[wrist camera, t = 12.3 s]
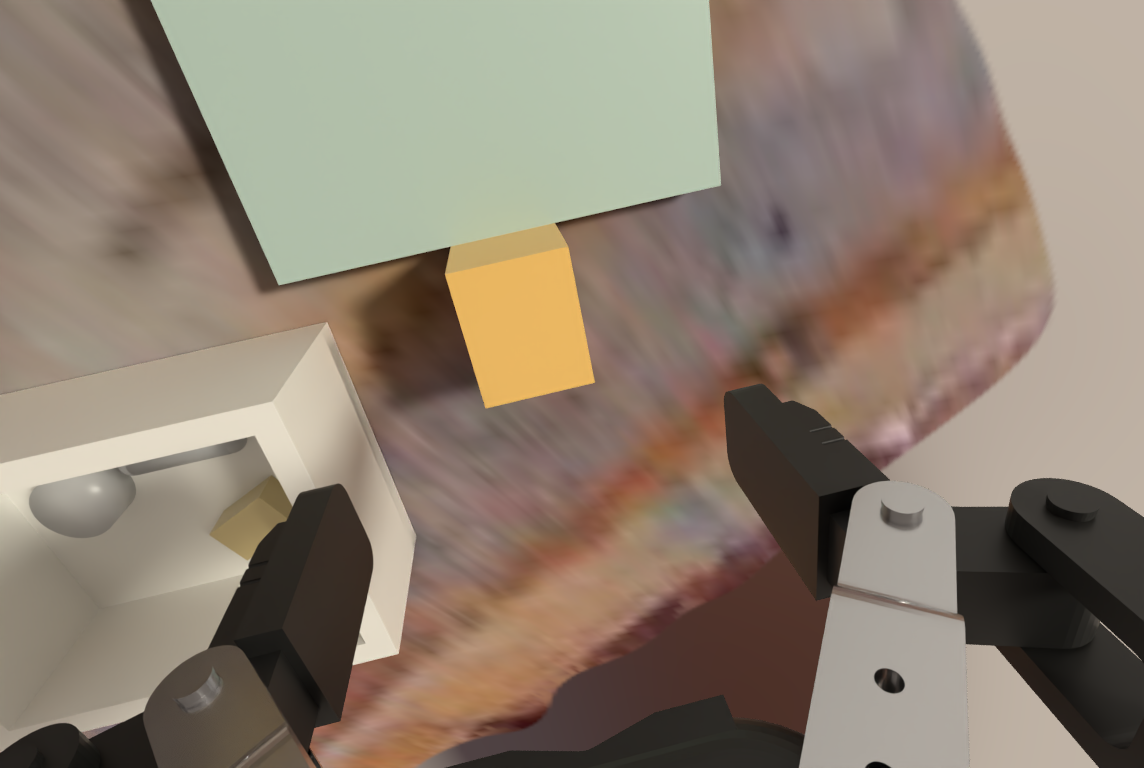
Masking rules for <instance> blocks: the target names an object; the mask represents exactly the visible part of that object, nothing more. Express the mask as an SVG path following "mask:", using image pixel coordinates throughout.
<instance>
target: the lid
mask: <svg viewBox="0 0 1144 768" xmlns="http://www.w3.org/2000/svg"><path fill="white" fill-rule="evenodd" d="M151 2H152V4H153V6H154V9H155V11H156V13H157V15H158V18H159V20H160V22H161V24H162V26H163V29H164V31H165V33H166V35H167V38H168V40H169V42H170V44H171V46H172V49H173V51H174V53H175V55H176V58H177V60H178V62H179V64H180V66H181V69H182V71H183V73H184V75H185V78H186V80H187V82H188V84H189V87H190V89H191V91H192V93H193V95H194V98H195V100H196V102H197V104H198V107H199V109H200V111H201V113H202V115H203V118H204V120H205V122H206V124H207V127H208V129H209V131H210V133H211V135H212V138H213V140H214V142H215V144H216V147H217V149H218V151H219V153H220V156H221V158H222V160H223V162H224V164H225V167H226V169H227V171H228V173H229V176H230V178H231V180H232V182H233V184H234V187H235V189H236V191H237V193H238V196H239V198H240V200H241V202H242V204H243V207H244V209H245V211H246V213H247V216H248V218H249V220H250V222H251V225H252V227H253V229H254V231H255V233H256V236H257V238H258V240H259V242H260V245H261V247H262V249H263V251H264V253H265V256H266V258H267V260H268V262H269V265H270V267H271V269H272V271H273V273H274V276H275V278H276V280H277V282H278V285H283V284H287V283H291V282H296V281H300V280H305V279H309V278H313V277H318V276H322V275H327V274H331V273H336V272H340V271H344V270H349V269H353V268H358V267H362V266H367V265H371V264H375V263H380V262H384V261H389V260H393V259H398V258H402V257H406V256H411V255H415V254H420V253H424V252H428V251H433V250H437V249H442V248H446V247H451V248H450V253H449V258H448V262H447V267H446V272H445V276H446V280H447V283H448V286H449V289H450V293H451V296H452V299H453V303H454V306H455V309H456V312H457V316H458V319H459V322H460V326H461V329H462V332H463V335H464V339H465V342H466V345H467V349H468V352H469V355H470V358H471V362H472V365H473V368H474V372H475V375H476V378H477V381H478V385H479V388H480V391H481V395H482V398H483V401H484V404H485V408H489V407H494V406H498V405H502V404H506V403H511V402H515V401H519V400H523V399H527V398H532V397H536V396H540V395H544V394H549V393H553V392H557V391H561V390H565V389H570V388H574V387H578V386H582V385H587V384H591V383H595V381H594V376H593V371H592V366H591V361H590V356H589V351H588V346H587V341H586V335H585V330H584V325H583V320H582V315H581V310H580V305H579V300H578V294H577V289H576V284H575V279H574V274H573V269H572V264H571V259H570V254H569V248H568V245H567V244H566V242H565V240H564V238H563V237H562V235H561V233H560V231H559V229H558V228H557V226H556V224H555V223H557V222H561V221H566V220H570V219H574V218H579V217H583V216H588V215H592V214H597V213H601V212H605V211H610V210H614V209H619V208H623V207H628V206H632V205H636V204H641V203H645V202H650V201H654V200H659V199H663V198H667V197H672V196H676V195H681V194H685V193H689V192H694V191H698V190H703V189H707V188H712V187H716V186H720V185H721V178H720V163H719V148H718V132H717V117H716V102H715V87H714V71H713V56H712V41H711V26H710V10H709V0H151Z"/></svg>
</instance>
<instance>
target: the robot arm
mask: <svg viewBox="0 0 1144 768" xmlns="http://www.w3.org/2000/svg"><path fill="white" fill-rule="evenodd" d="M724 409H725V424H726V439H727V453H728V459H729V464H730V467H731V470H732V473H733V475H734V477H735V479H736V481H737V483H738V484H739V486H740V487H741V489H742V490H743V492H744V493H745V495H746V496H747V498H748V499H749V501H750V502H751V504H752V505H753V507H754V508H755V510H756V511H757V513H758V514H759V516H760V517H761V519H762V520H763V522H764V523H765V525H766V526H767V528H768V529H769V531H770V532H771V534H772V535H773V537H774V538H775V540H776V541H777V543H778V544H779V546H780V547H781V549H782V550H783V552H784V553H785V555H786V556H787V558H788V559H789V561H790V562H791V564H792V565H793V567H794V568H795V570H796V571H797V573H798V574H799V576H800V577H801V578H802V580H803V582H804V583H805V585H806V586H807V588H808V589H809V591H810V592H811V594H812V595H813V597H814V598H815V600H821V599H825V598H828V597H831V599H830V604H829V610H828V615H827V620H826V626H825V631H824V636H823V642H822V647H821V653H820V658H819V663H818V669H817V674H816V680H815V685H814V690H813V695H812V701H811V706H810V711H809V717H808V722H807V727H806V733H805V735H803V734H802V733H799V732H797V731H794V730H792V729H789V728H787V727H784V726H781V725H778V724H774V723H770V722H766V721H763V720H756V719H749V718H732V715H731V713H730V710H729V708H728V705H727V703H726V701H725V698H724V696H723V695H720V696H716V697H712V698H708V699H705V700H701V701H697V702H693V703H689V704H686V705H682V706H678V707H674V708H670V709H667V710H663V711H659V712H655V713H653V714H651V715H650V716H648V717H646V718H644V719H643V720H641V721H639V722H637V723H636V724H634V725H632V726H630V727H629V728H627V729H625V730H623V731H622V732H620V733H618V734H617V735H615V736H613V737H611V738H609V739H608V740H606V741H604V742H602V743H601V744H599V745H597V746H595V747H594V748H591V749H589V750H586V751H579V752H577V751H573V752H572V751H507V752H503V753H500V754H496V755H492V756H489V757H484V758H481V759H477V760H473V761H469V762H465V763H462V764H458V765H454V766H450V767H447V768H970V760H969V730H968V729H969V728H968V701H967V700H968V699H967V670H966V644H974V645H975V644H976V645H994V646H996V648H997V649H998V650H999V651H1000V652H1001V653H1002V655H1003V656H1004V657H1005V658H1006V659H1007V660H1008V662H1009V663H1010V664H1011V665H1012V666H1013V667H1014V669H1016V671H1017V672H1018V673H1019V674H1020V676H1021V677H1022V678H1023V679H1024V680H1025V681H1026V683H1027V684H1028V685H1029V686H1030V687H1031V689H1032V690H1033V691H1034V692H1035V693H1036V694H1037V695H1038V697H1039V698H1040V699H1041V700H1042V701H1043V703H1044V704H1045V705H1046V706H1047V707H1048V708H1049V709H1050V711H1051V712H1052V713H1053V714H1054V715H1055V717H1056V718H1057V719H1058V720H1059V721H1060V722H1061V724H1062V725H1063V726H1064V727H1065V728H1066V730H1067V731H1068V732H1069V733H1070V734H1071V735H1072V737H1073V738H1074V739H1075V740H1076V741H1077V742H1078V744H1079V745H1080V746H1081V747H1082V748H1083V749H1084V751H1085V752H1086V753H1087V754H1088V755H1089V756H1090V758H1091V759H1092V760H1093V761H1094V762H1095V763H1096V765H1097V766H1098V767H1099V768H1144V517H1142V516H1141V515H1140V514H1138V513H1137V512H1135V511H1134V510H1132V509H1131V508H1129V507H1128V506H1126V505H1125V504H1124V503H1122V502H1121V501H1119V500H1118V499H1116V498H1115V497H1113V496H1111V495H1110V494H1108V493H1106V492H1104V491H1102V490H1100V489H1097V488H1095V487H1092V486H1089V485H1086V484H1082V483H1079V482H1075V481H1070V480H1064V479H1053V478H1041V479H1033V480H1029V481H1025V482H1023V483H1021V484H1019V485H1018V486H1017V487H1015V489H1014V490H1013V491H1012V494H1011V498H1010V502H1009V507H952V506H950V505H949V504H948V503H947V501H946V500H945V499H943V498H942V497H941V496H940V495H938V494H936V493H935V492H933V491H931V490H929V489H927V488H925V487H922V486H919V485H916V484H913V483H908V482H902V481H890V480H889V479H888V478H887V477H886V476H885V475H884V474H883V473H882V472H881V471H880V470H879V469H878V468H877V467H876V466H874V465H873V464H872V463H871V462H870V461H869V460H868V459H867V458H866V457H865V456H864V455H863V454H862V453H861V452H860V451H858V450H857V449H856V448H855V447H854V446H853V445H852V444H851V443H850V442H849V441H848V440H844V436H842V435H841V434H840V433H839V432H838V431H837V430H836V429H835V428H832V427H831V424H830V423H829V422H828V421H826V420H825V419H824V418H823V417H822V416H821V415H820V414H819V413H818V412H817V411H816V410H814V409H811V408H809V407H807V406H804V405H802V404H800V403H798V402H795V401H789V402H784V403H782V402H781V401H780V400H779V399H778V398H777V397H776V396H775V395H774V394H773V393H772V392H771V391H770V390H769V389H768V388H767V387H766V386H765V385H763V384H757V385H753V386H749V387H744V388H740V389H736V390H732V391H728V392H726V393H725V396H724ZM248 567H249V569H246V571H245V573H244V575H243V577H242V579H241V581H240V587H237V589H236V591H235V593H234V595H233V597H232V600H231V602H230V604H229V606H228V608H227V610H226V612H225V614H224V616H223V618H222V620H221V622H220V624H219V626H218V628H217V631H216V633H215V635H214V637H213V639H212V641H211V643H210V645H209V647H208V649H207V650H204V651H202V652H200V653H198V654H196V655H194V656H192V657H191V658H189V659H187V660H186V661H184V662H183V663H181V664H180V665H179V666H177V667H176V668H175V669H174V670H173V671H172V672H170V673H169V674H168V675H167V676H166V677H165V678H164V679H163V680H162V681H161V683H160V684H159V685H158V686H157V687H156V689H155V690H154V692H153V693H152V695H151V696H150V698H149V700H148V702H147V704H146V707H145V710H144V712H142V713H140V714H138V715H136V716H134V717H132V718H130V719H128V720H126V721H124V722H122V723H120V724H118V725H116V726H114V727H112V728H110V729H108V730H106V731H104V732H102V733H100V734H98V735H96V736H94V737H92V738H90V739H88V738H87V737H86V736H85V735H84V734H83V733H82V732H81V731H80V730H79V729H78V728H77V727H76V726H74V725H72V724H69V723H57V724H52V725H49V726H46V727H43V728H40V729H38V730H36V731H34V732H32V733H30V734H28V735H26V736H24V737H23V738H21V739H19V740H18V741H16V742H15V743H13V744H12V745H10V746H9V747H7V748H6V749H5V750H3V751H2V752H1V753H0V768H323V767H322V765H321V764H320V762H319V760H318V759H317V757H316V756H315V754H314V753H313V751H312V750H311V748H310V747H309V746H310V743H311V739H312V735H313V731H314V728H316V727H320V726H323V725H327V724H331V723H335V722H339V721H340V720H341V715H342V711H343V706H344V702H345V697H346V692H347V688H348V683H349V679H350V674H351V669H352V665H353V660H354V655H355V651H356V646H357V642H358V637H359V632H360V628H361V623H362V619H363V614H364V609H365V605H366V600H367V595H368V591H369V586H370V582H371V577H372V572H373V552H372V547H371V543H370V540H369V538H368V536H367V534H366V531H365V529H364V527H363V525H362V523H361V521H360V519H359V517H358V514H357V512H356V510H355V508H354V506H353V504H352V502H351V499H350V497H349V495H348V493H347V491H346V489H345V488H344V487H343V486H342V485H341V484H339V483H338V484H333V485H329V486H325V487H321V488H316V489H312V490H308V491H304V492H301V493H299V495H298V496H297V498H296V500H295V503H294V505H293V507H292V509H291V512H290V514H289V516H288V518H287V521H285V522H281V523H277V524H276V526H275V527H274V528H273V529H272V530H271V531H270V532H269V533H268V534H267V535H266V536H265V537H264V538H263V540H262V541H261V542H260V543H259V544H258V546H257V548H256V550H255V552H254V554H253V556H252V558H251V560H250V562H249V564H248ZM1100 621H1101V622H1102V623H1103V624H1104V625H1105V626H1106V627H1107V628H1108V629H1110V630H1111V631H1112V632H1113V633H1114V634H1115V635H1116V636H1117V637H1118V638H1119V639H1121V640H1122V641H1123V642H1124V643H1125V644H1126V645H1127V646H1128V647H1129V648H1130V649H1131V650H1132V651H1134V653H1136V655H1137V656H1138V657H1139V658H1140V659H1141V660H1142V661H1141V660H1140V659H1139V658H1138V657H1137V656H1136V655H1134V654H1133V653H1132V652H1131V651H1130V650H1129V649H1128V648H1127V647H1126V646H1125V645H1124V644H1123V643H1121V642H1120V641H1119V640H1118V639H1117V638H1116V637H1115V636H1114V635H1113V634H1112V633H1111V632H1109V631H1108V630H1107V629H1106V628H1105V627H1104V626H1103V625H1102V624H1101V623H1100Z"/></svg>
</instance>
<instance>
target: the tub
mask: <svg viewBox="0 0 1144 768" xmlns="http://www.w3.org/2000/svg"><path fill="white" fill-rule="evenodd" d="M338 483H339V484H341V485H342V486H343V487H344V488H345V489H346V491H347V493H348V495H349V497H350V499H351V502H352V504H353V506H354V508H355V510H356V512H357V514H358V517H359V519H360V521H361V523H362V525H363V527H364V529H365V531H366V534H367V536H368V538H369V540H370V543H371V547H372V552H373V572H372V577H371V582H370V586H369V591H368V595H367V600H366V605H365V609H364V614H363V619H362V623H361V628H360V632H359V637H358V642H357V646H356V651H355V655H354V660H353V665H355V664H359V663H363V662H367V661H371V660H375V659H379V658H383V657H388V656H392V655H396V654H399V648H400V641H401V635H402V628H403V621H404V615H405V608H406V601H407V595H408V588H409V581H410V575H411V568H412V561H413V555H414V548H415V541H416V534H415V532H414V530H413V527H412V525H411V522H410V520H409V518H408V515H407V513H406V510H405V508H404V506H403V503H402V501H401V498H400V496H399V494H398V491H397V489H396V486H395V484H394V482H393V479H392V477H391V474H390V472H389V470H388V467H387V465H386V462H385V460H384V457H383V455H382V453H381V450H380V448H379V445H378V443H377V441H376V438H375V436H374V433H373V431H372V429H371V426H370V424H369V421H368V419H367V417H366V414H365V412H364V409H363V407H362V405H361V402H360V400H359V397H358V395H357V393H356V390H355V388H354V385H353V383H352V381H351V378H350V376H349V373H348V371H347V369H346V366H345V364H344V361H343V359H342V357H341V354H340V352H339V349H338V347H337V344H336V342H335V340H334V337H333V335H332V332H331V330H330V328H329V325H328V323H327V322H324V323H320V324H315V325H311V326H306V327H302V328H297V329H293V330H288V331H284V332H279V333H275V334H270V335H266V336H261V337H257V338H253V339H248V340H244V341H239V342H235V343H230V344H226V345H221V346H217V347H212V348H208V349H203V350H199V351H195V352H190V353H186V354H181V355H177V356H172V357H168V358H163V359H159V360H154V361H150V362H145V363H141V364H137V365H132V366H128V367H123V368H119V369H114V370H110V371H105V372H101V373H96V374H92V375H87V376H83V377H78V378H74V379H70V380H65V381H61V382H56V383H52V384H47V385H43V386H38V387H34V388H29V389H25V390H20V391H16V392H12V393H7V394H3V395H0V752H2V751H3V750H5V749H6V748H7V747H9V746H10V745H12V744H13V743H15V742H16V741H18V740H19V739H21V738H23V737H24V736H26V735H28V734H30V733H32V732H34V731H36V730H38V729H40V728H43V727H46V726H49V725H52V724H57V723H69V724H72V725H74V726H76V727H77V728H78V729H79V730H80V731H81V732H84V731H88V730H92V729H96V728H100V727H104V726H108V725H112V724H116V723H120V722H124V721H126V720H128V719H130V718H132V717H134V716H136V715H138V714H140V713H142V712H144V710H145V707H146V704H147V702H148V700H149V698H150V696H151V695H152V693H153V692H154V690H155V689H156V687H157V686H158V685H159V684H160V683H161V681H162V680H163V679H164V678H165V677H166V676H167V675H168V674H169V673H170V672H172V671H173V670H174V669H175V668H176V667H177V666H179V665H180V664H181V663H183V662H184V661H186V660H187V659H189V658H191V657H192V656H194V655H196V654H198V653H200V652H202V651H204V650H207V649H208V647H209V645H210V643H211V641H212V639H213V637H214V635H215V633H216V631H217V628H218V626H219V624H220V622H221V620H222V618H223V616H224V614H225V612H226V610H227V608H228V606H229V604H230V602H231V600H232V597H233V595H234V593H235V591H236V589H237V587H240V581H241V579H242V577H243V575H244V573H245V571H246V569H249V567H248V564H249V562H250V560H251V558H252V556H253V554H254V552H255V550H256V548H257V546H258V544H259V543H260V542H261V541H262V540H263V538H264V537H265V536H266V535H267V534H268V533H269V532H270V531H271V530H272V529H273V528H274V527H275V526H276V524H277V523H281V522H285V521H287V518H288V516H289V514H290V512H291V509H292V507H293V505H294V503H295V500H296V498H297V496H298V495H299V493H301V492H304V491H308V490H312V489H316V488H321V487H325V486H329V485H333V484H338Z"/></svg>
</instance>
